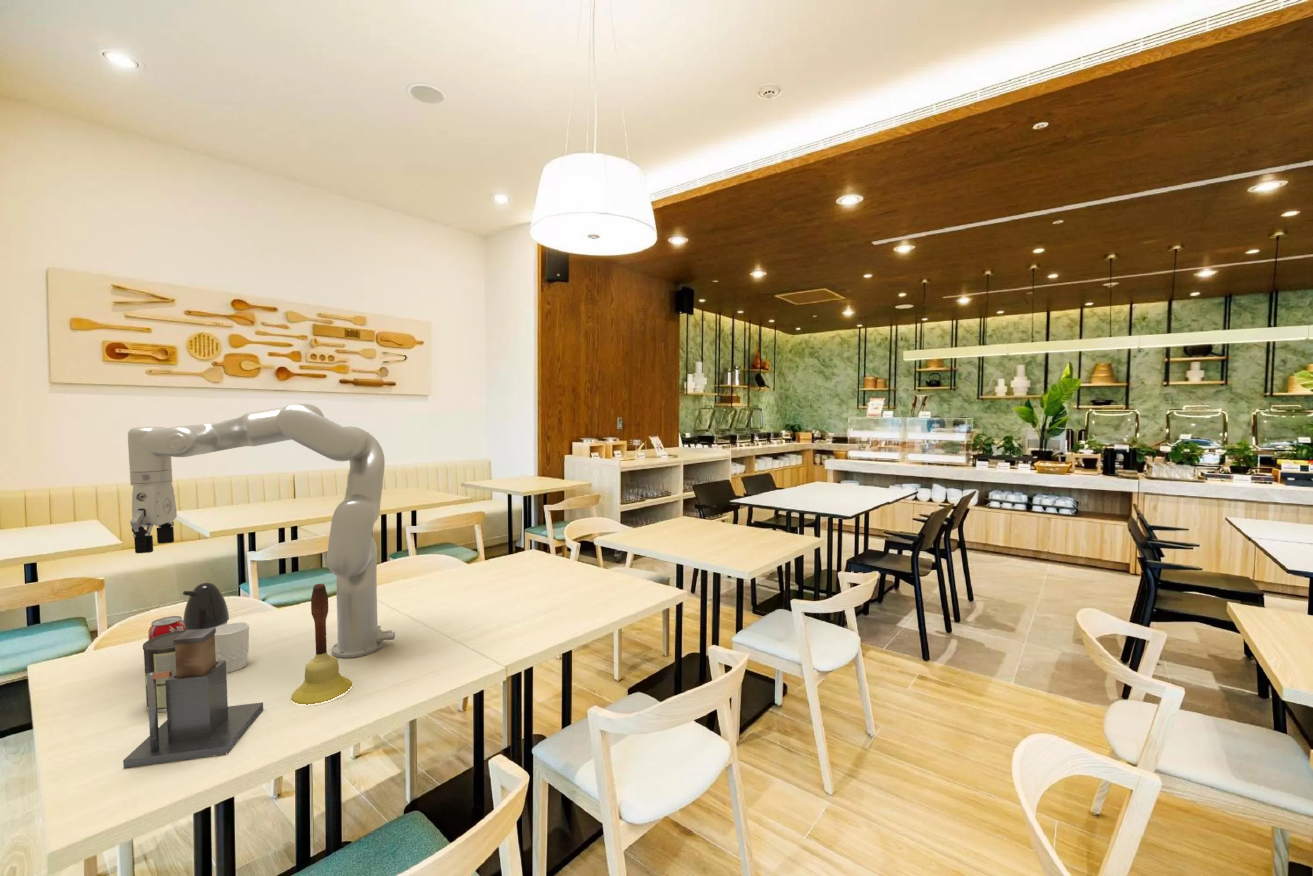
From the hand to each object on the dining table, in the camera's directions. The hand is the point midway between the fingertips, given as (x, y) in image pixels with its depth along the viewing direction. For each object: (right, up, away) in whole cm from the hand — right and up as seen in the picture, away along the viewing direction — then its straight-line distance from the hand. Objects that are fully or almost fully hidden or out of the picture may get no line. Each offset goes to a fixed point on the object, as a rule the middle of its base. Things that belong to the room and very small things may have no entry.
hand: (155, 547), depth 134 cm
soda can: (0, -31, +4) cm, 31 cm away
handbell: (+45, -32, -8) cm, 56 cm away
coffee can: (+15, -32, -12) cm, 37 cm away
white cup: (+15, -31, +4) cm, 35 cm away
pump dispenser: (-6, -30, +23) cm, 38 cm away
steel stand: (+31, -33, -25) cm, 52 cm away
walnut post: (+31, -31, -25) cm, 50 cm away
